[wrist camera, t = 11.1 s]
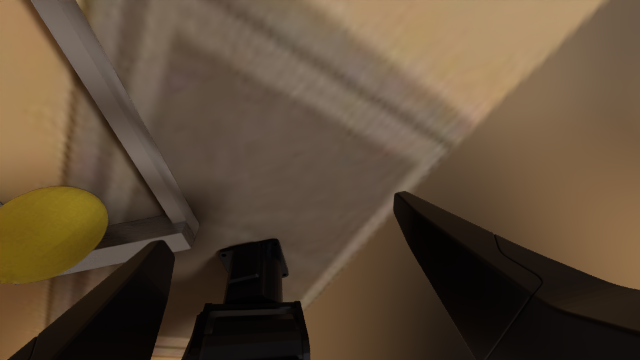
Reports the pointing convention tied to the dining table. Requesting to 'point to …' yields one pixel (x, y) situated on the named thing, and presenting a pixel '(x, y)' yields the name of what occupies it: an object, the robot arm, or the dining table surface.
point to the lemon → (48, 232)
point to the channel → (113, 101)
